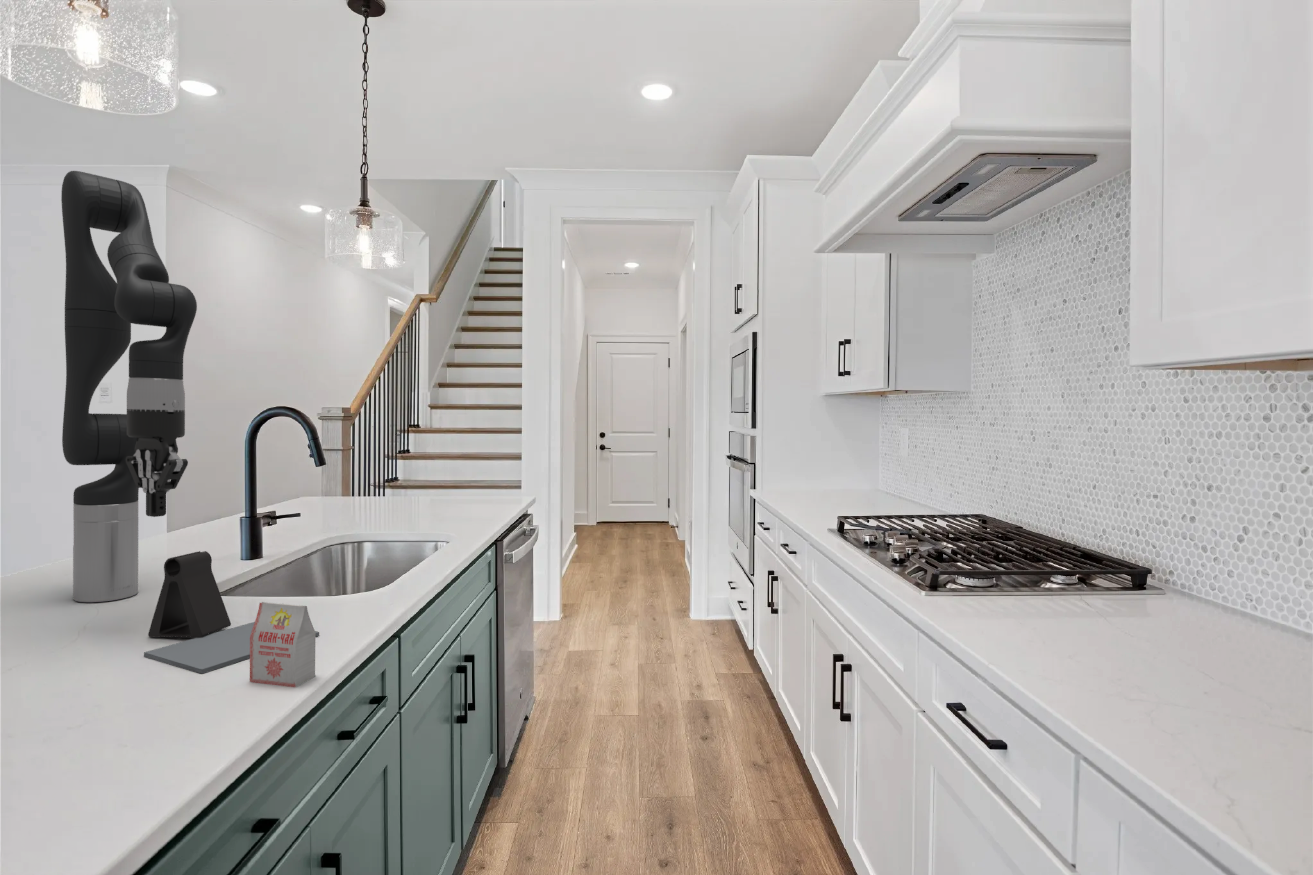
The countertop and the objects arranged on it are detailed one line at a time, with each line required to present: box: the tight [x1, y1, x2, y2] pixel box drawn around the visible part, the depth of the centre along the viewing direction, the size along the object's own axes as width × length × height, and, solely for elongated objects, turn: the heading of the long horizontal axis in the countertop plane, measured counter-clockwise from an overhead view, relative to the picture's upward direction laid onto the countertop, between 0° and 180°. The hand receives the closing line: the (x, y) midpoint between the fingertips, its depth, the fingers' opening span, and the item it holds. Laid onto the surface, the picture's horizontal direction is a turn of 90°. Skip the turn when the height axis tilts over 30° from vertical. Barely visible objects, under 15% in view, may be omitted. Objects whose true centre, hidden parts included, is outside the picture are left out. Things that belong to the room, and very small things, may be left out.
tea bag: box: [249, 601, 317, 688], centre depth 90 cm, size 4×7×10 cm, turn 79°
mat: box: [143, 621, 320, 675], centre depth 102 cm, size 13×18×1 cm
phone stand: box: [147, 550, 232, 638], centre depth 107 cm, size 9×6×12 cm, turn 83°
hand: (156, 515), depth 110 cm, fingers closed
